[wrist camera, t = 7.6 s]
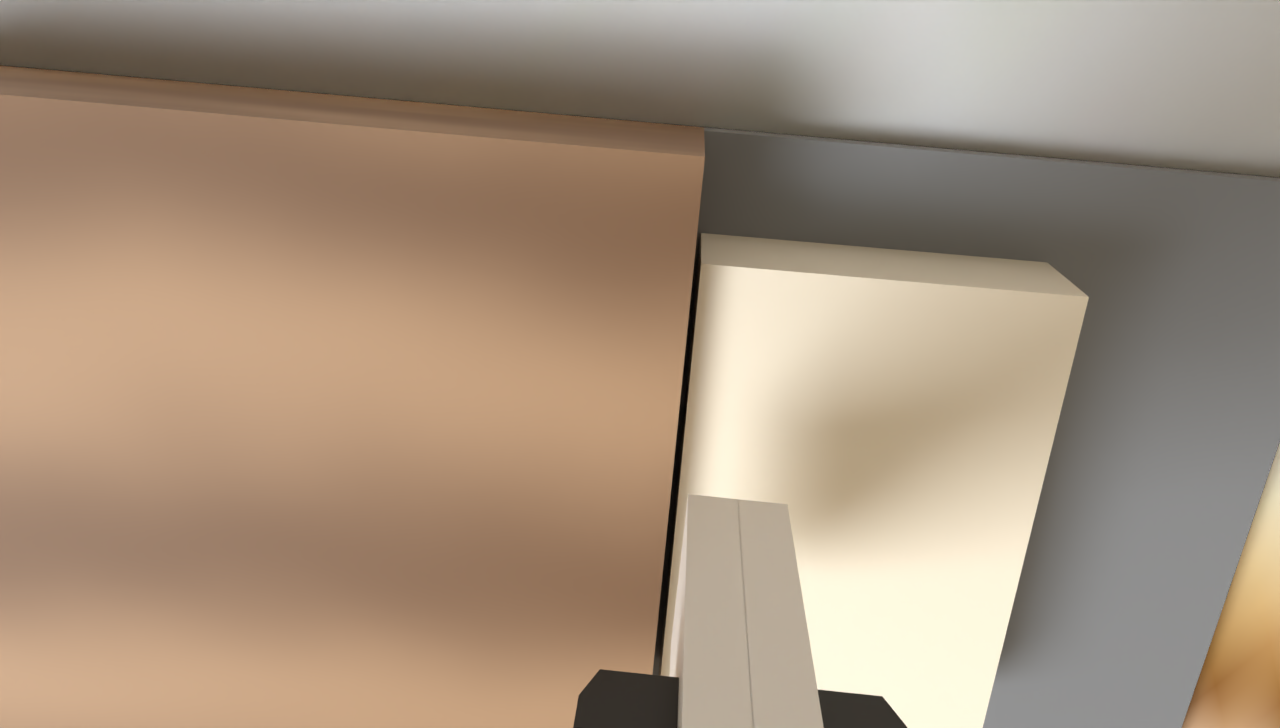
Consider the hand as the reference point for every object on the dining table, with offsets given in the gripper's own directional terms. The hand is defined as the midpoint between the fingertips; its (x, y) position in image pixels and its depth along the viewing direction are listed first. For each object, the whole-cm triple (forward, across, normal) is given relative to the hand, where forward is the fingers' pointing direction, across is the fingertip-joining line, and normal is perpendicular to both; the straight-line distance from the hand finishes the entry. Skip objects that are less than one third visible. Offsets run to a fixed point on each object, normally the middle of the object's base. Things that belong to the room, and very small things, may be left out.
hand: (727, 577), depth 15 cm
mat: (+4, +4, -1) cm, 6 cm away
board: (+4, -8, -1) cm, 9 cm away
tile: (+4, +2, 0) cm, 4 cm away
